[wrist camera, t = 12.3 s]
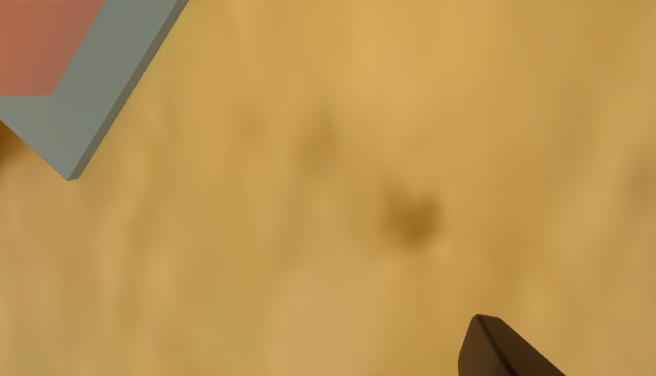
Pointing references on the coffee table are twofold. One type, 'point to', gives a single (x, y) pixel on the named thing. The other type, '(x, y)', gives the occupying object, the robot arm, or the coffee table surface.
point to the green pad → (92, 84)
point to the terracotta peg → (40, 42)
